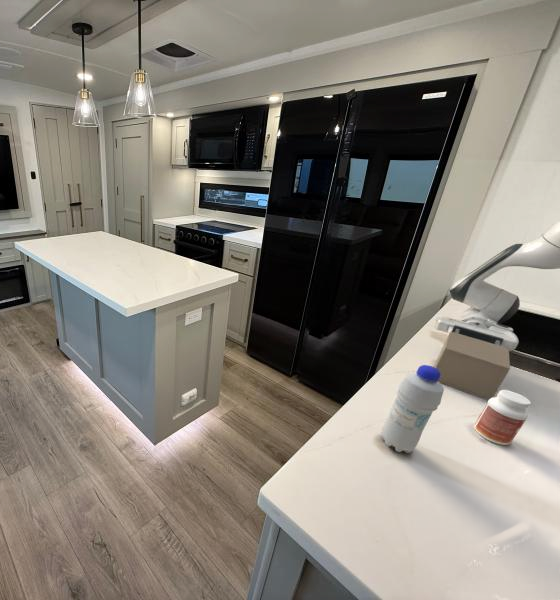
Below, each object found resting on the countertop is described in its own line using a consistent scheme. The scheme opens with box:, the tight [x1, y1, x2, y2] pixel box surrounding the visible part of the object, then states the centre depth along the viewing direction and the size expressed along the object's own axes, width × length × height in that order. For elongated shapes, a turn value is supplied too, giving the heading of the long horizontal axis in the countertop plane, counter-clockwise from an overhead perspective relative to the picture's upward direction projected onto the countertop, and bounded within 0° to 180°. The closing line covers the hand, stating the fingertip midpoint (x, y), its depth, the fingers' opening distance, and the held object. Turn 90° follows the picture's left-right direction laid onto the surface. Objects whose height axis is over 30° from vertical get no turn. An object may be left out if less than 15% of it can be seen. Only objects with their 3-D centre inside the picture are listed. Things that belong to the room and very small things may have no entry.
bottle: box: [380, 364, 445, 454], centre depth 63 cm, size 7×7×20 cm
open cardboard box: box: [433, 331, 511, 402], centre depth 88 cm, size 15×13×11 cm
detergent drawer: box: [451, 325, 504, 346], centre depth 96 cm, size 18×11×9 cm, turn 134°
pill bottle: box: [473, 389, 532, 446], centre depth 69 cm, size 6×6×11 cm
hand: (472, 340), depth 101 cm, fingers open, 8 cm apart
